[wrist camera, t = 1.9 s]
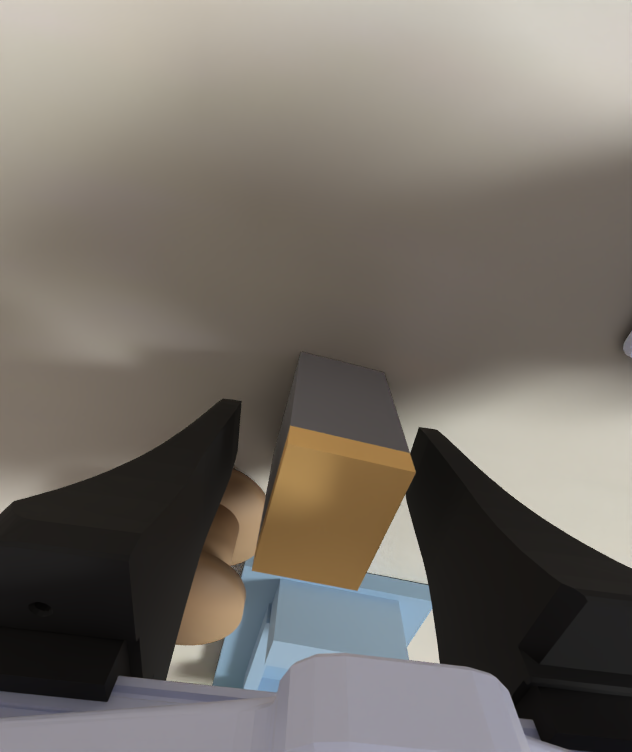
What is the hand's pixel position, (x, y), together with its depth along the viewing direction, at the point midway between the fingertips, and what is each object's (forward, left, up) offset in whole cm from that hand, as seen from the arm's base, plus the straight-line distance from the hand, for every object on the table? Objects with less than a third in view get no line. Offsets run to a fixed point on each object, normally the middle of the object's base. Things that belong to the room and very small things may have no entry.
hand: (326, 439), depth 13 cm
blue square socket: (-3, +13, -2) cm, 14 cm away
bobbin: (+3, +6, -2) cm, 7 cm away
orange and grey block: (0, 0, -2) cm, 2 cm away
